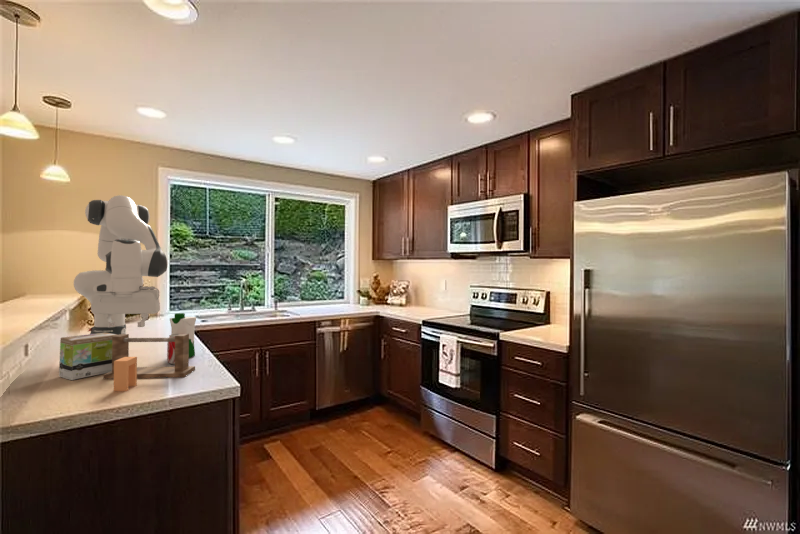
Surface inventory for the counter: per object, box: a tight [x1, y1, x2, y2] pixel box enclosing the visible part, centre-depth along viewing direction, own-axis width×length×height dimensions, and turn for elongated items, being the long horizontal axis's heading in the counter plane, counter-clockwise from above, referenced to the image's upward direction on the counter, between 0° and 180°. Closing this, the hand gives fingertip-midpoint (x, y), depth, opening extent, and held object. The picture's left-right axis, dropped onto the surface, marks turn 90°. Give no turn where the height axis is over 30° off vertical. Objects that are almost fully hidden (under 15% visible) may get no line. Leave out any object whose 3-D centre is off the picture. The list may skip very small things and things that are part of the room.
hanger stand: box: [102, 333, 196, 380], centre depth 148 cm, size 28×10×15 cm, turn 97°
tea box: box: [58, 333, 116, 381], centre depth 148 cm, size 15×10×15 cm, turn 153°
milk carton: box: [169, 312, 197, 358], centre depth 176 cm, size 9×9×20 cm
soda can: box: [166, 334, 179, 365], centre depth 166 cm, size 7×7×12 cm
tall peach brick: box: [113, 356, 138, 392], centre depth 132 cm, size 4×6×10 cm, turn 7°
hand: (126, 327), depth 131 cm, fingers open, 8 cm apart
